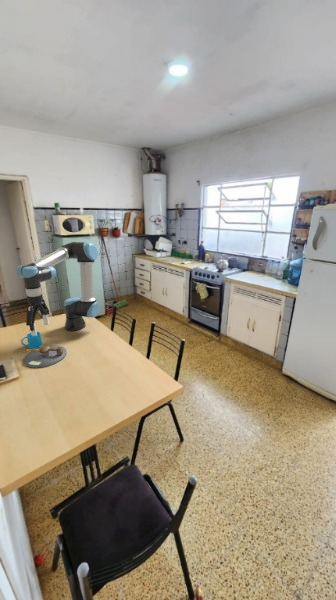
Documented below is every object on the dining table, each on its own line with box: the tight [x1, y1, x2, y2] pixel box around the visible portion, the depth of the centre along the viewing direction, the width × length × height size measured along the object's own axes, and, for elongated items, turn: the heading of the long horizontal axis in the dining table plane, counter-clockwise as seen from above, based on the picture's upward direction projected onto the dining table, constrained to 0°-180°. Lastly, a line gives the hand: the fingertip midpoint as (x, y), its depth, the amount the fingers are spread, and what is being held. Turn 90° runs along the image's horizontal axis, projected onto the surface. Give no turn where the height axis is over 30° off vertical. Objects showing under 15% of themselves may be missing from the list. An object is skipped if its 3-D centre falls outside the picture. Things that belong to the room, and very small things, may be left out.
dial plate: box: [22, 344, 68, 369], centre depth 155 cm, size 24×24×4 cm
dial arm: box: [25, 345, 63, 355], centre depth 154 cm, size 22×6×4 cm, turn 91°
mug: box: [20, 331, 43, 349], centre depth 166 cm, size 12×8×8 cm
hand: (40, 330), depth 145 cm, fingers open, 13 cm apart
